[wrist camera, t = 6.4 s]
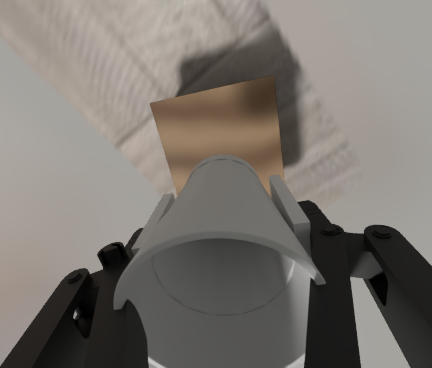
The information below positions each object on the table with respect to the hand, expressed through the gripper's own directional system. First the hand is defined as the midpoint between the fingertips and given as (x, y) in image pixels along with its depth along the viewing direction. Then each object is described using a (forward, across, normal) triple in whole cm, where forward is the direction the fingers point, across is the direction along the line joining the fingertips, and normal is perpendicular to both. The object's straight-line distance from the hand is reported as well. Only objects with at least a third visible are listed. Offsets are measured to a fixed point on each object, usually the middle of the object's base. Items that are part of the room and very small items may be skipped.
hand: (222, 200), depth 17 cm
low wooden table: (+17, 0, 0) cm, 17 cm away
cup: (+2, 0, 0) cm, 2 cm away
